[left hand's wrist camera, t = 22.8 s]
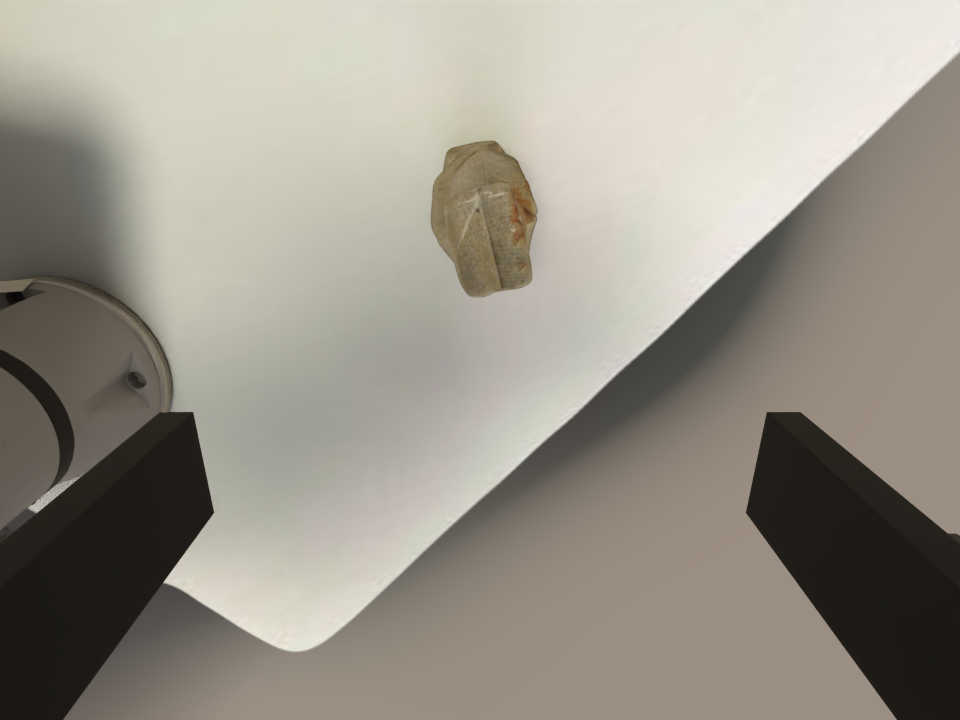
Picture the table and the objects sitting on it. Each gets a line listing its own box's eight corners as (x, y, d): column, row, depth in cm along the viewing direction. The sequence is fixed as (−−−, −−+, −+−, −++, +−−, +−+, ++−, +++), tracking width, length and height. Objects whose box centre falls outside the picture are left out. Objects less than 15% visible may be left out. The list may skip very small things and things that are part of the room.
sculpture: (450, 255, 40) (433, 314, 26) (431, 150, 37) (402, 151, 23) (530, 243, 39) (557, 295, 25) (517, 136, 37) (540, 128, 23)
